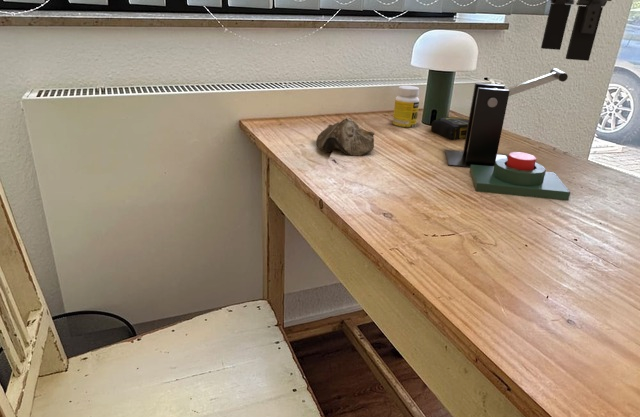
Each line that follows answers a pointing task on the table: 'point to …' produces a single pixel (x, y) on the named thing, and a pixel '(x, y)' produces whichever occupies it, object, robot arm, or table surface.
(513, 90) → the switch lever
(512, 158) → the red button
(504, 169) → the button box
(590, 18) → the robot arm
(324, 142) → the fossilized seashell
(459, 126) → the tape measure
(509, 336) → the table surface
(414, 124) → the supplement bottle
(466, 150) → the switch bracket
